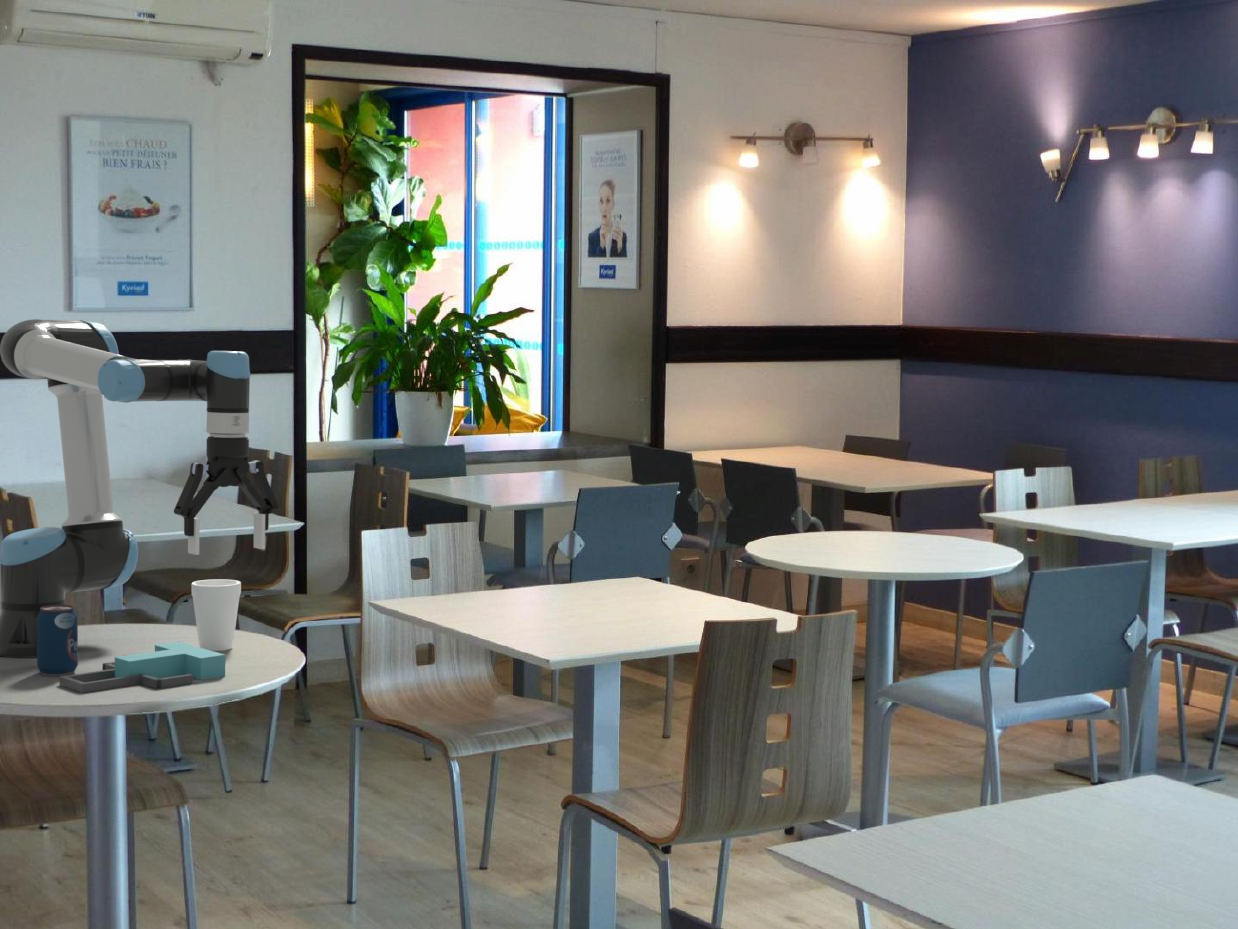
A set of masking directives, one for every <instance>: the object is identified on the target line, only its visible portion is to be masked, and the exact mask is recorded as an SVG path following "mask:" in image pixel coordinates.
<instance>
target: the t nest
mask: <svg viewBox="0 0 1238 929" xmlns="http://www.w3.org/2000/svg"><path fill="white" fill-rule="evenodd" d="M58 677H59V678H58V679H59V681H58V683H59V686H60V687H64V688H67V689H70V690H73V691H74V692H79V693H81V694H84V693H90V692H91V693H92V692H96V691H104V690H109V689H115V688H116V689H117V688H122V687H123V688H124V687H128V686H135V685H143V686H147V687H150V688H151V689H152V688H153V689H156V690H157V689H158V690H159V689H165V688H171V687H177V686H183V685H184V686H185V685H189V684H190V685H191V684H194V678H193V675H192V674H187V675H180V676H174V677H167V678H160V679H158V678H155V677H152V676H149V675H145V674H138V675H131V676H125V677H118V678H115V661H112V662H105V663H104V662H103V663H102V670H98V671H97V670H95V671H89V672H83V673H82V672H81V673H76V674H74V673H73V674H69V675H62V676H58Z"/></svg>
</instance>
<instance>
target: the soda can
mask: <svg viewBox="0 0 1238 929" xmlns="http://www.w3.org/2000/svg"><path fill="white" fill-rule="evenodd" d="M40 610H41V611H40V613H39V615H38V617H37V657H36V658H37V659H36V663H37V664H36V667H37V670H38V671H39V672H40V674H41V675H43V676H49V677H60V676H67V675H73V674H74V673H75V671H76V669H77V668H78V665H79V647H78V646H79V640H78V638H79V636H78V635H79V634H78V632H79V630H78V629H79V628H78V625H79V624H78V614H77V612H76V611H75V606H73V605H71V604H65V605H49V606H44V607H41V608H40Z"/></svg>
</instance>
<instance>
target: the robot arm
mask: <svg viewBox="0 0 1238 929" xmlns="http://www.w3.org/2000/svg"><path fill="white" fill-rule="evenodd" d="M119 353H120V352H119V349H118V344H117V341H116V339H115V337H114V335H113V333H112V332H111V331H110V330H109V329H108V328H107V327H106V326H105V325H104V324H101V323H100V322H95V321H88V320H83V319H81V320H79V319H76V320H75V319H72V320H69V319H68V320H67V319H64V320H63V319H62V320H61V319H57V320H56V319H39V318H37V319H35V318H34V319H27V320H23V321H20V322H18V323H16V324H13V326H11V327H10V328H8V329H7V331H5V333H4V335H3V336H2V339H1V341H0V358H1V361H2V363H3V364H4V366H5V367H6V369H8V371H10V372H11V373H13V374H14V375H16V376H18V377H23V378H27V379H31V380H41V379H42V380H43V379H45V380H46V379H47V390H48V391H49V392H50V393H52V395H54V396H55V397H56V398H57V399H56V400H57V408H58V409H57V410H58V418H59V429H60V430H59V431H60V439H61V440H60V441H61V448H62V449H61V450H62V461H63V471H64V481H65V491H66V502H67V511H68V512H67V514H68V516H67V518H66V519H65V520H64V522H63V523H61V527H54V526H49V527H48V526H45V527H39V528H37V527H36V528H29V529H24V530H20V531H19V530H18V531H16V532H13V533H10V534H8V535H6V536H5V537H4V538H3V540H2V541H1V543H0V544H1V546H0V608H1V609H0V657H9V658H37V617H38V615H39V613H40V611H41V610H40V608H41V607H44V606H49V605H66V593H76V592H77V593H78V592H85V591H93V590H106V589H109V588H113V587H118V586H121V585H123V584H125V583H126V582H128V580H130V578H131V577H132V575H133V574H134V572H135V570H136V567H137V564H138V560H139V557H138V556H139V547H138V542H137V539H136V538H135V537H134V534H133V532H131V530H129V529H127V528H124V523H123V519H122V517H120V516H118V515H117V514H116V513H115V512H114V505H113V494H112V483H111V482H112V481H111V474H110V472H111V470H110V461H109V453H108V443H107V441H108V440H107V433H106V432H107V430H106V422H105V412H104V411H105V410H104V400H103V396H104V399H106V400H107V401H111V402H118V403H125V404H127V403H131V402H132V403H133V402H191V401H192V402H206V430H205V431H206V433H207V434H209V436H208V437H207V438H206V457H207V460H206V463H204V464H203V463H201V462H191V464H190V470H189V476H188V478H187V480H186V482H185V484H184V487H183V488H182V491H181V493H180V496H179V498H178V500H177V503H176V505H175V507H174V509H173V513H174V514H175V515H179V516H180V517H182V518H183V534H184V536H185V537H186V536H187V553H188V554H189V555H195V556H196V555H197V556H198V555H200V523H201V522H200V518H197V515H198V513H199V512H200V511H201V510H202V509H203V508H204V506H205V504H206V503H207V501H208V500H209V499H210V497H211V496H212V495H213V494H214V492H215V491H217V490H218V489H219V487H221V488H227V487H239V488H240V490H241V491H242V492H243V494H244V495H245V496H246V498H248V500H249V501H250V502H251V504H252V506H254V507H255V509H256V510H257V511H258V512H254V513H253V549H258V550H265V549H266V531H268V529H269V526H270V524H269V523H270V522H269V519H270V518H269V516H270V515H271V514H272V513H273V511H274V510H278V509H279V503H278V501H277V499H276V497H275V494H274V491H273V490H272V487H271V484H270V482H269V481H268V478H267V476H266V473H265V466H264V462H263V461H262V460H251V461H249V458H248V457H249V455H250V438H249V437H248V436H246V435H248V434H249V433H250V431H249V429H250V428H249V426H250V423H249V422H250V387H251V386H250V384H251V383H250V382H251V378H250V377H251V370H250V357H249V355H248V353H246V351H237V350H236V351H231V350H211V351H209V352H208V353H207V357H206V360H195V359H194V360H193V359H182V358H181V359H154V360H153V359H138V358H133V357H128V356H125V355H121V354H119ZM249 471H250V473H251V476H252V478H253V480H254V482H255V485H256V486H257V489H258V491H259V492H258V491H257V490H256V489H255V487H254V486H253V484H252V482H251V480H250V479H249V478H248V476H247V474H248V472H249ZM206 473H207V477H206V479H205V480H204V481H203V484H202V486H201V487H200V489H199V491H197V490H198V488H199V486H200V483H201V481H202V479H203V476H204V475H206ZM259 493H260V494H259Z"/></svg>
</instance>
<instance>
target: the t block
mask: <svg viewBox="0 0 1238 929" xmlns="http://www.w3.org/2000/svg"><path fill="white" fill-rule="evenodd" d="M114 662H115V678H118V677H125V676H131V675H138V674H145V675H149V676H152V677H155V678H158V679H160V678H167V677H174V676H180V675H187V674H192V675H193V679H197V680H199V681H203V680H209V679H216V678H222V677H223V678H224V677H226V654H224V653H220V652H218V651H210V650H206V649H203V648H200V646H194V645H192V644H189V643H184V642H180V641H175V642H168V643H160V644H154V651H151V652H143V653H142V652H141V653H136V654H134V653H133V654H128V655H121V656H114Z"/></svg>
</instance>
